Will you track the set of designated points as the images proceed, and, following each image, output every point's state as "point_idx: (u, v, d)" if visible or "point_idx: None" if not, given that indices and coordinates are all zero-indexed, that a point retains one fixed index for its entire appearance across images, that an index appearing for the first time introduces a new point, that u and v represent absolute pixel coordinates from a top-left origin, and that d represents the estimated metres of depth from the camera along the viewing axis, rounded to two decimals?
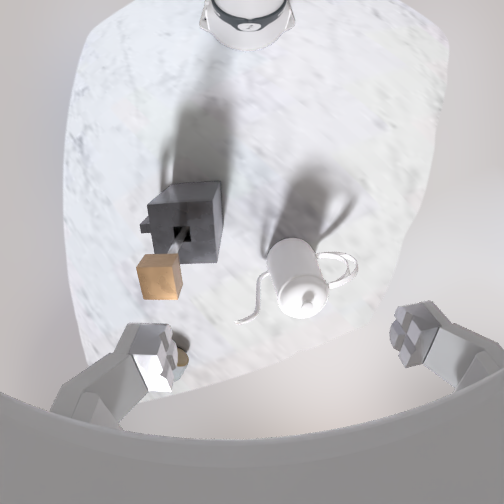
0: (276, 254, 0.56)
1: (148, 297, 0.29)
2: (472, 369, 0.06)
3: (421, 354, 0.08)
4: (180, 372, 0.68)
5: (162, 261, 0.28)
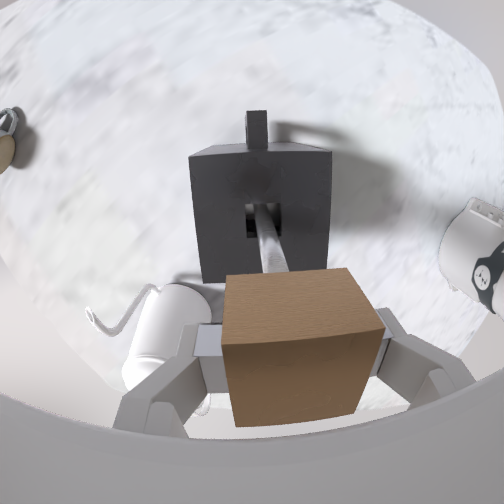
0: (192, 309, 0.37)
1: (233, 361, 0.06)
2: (424, 388, 0.06)
3: None
4: None
5: None
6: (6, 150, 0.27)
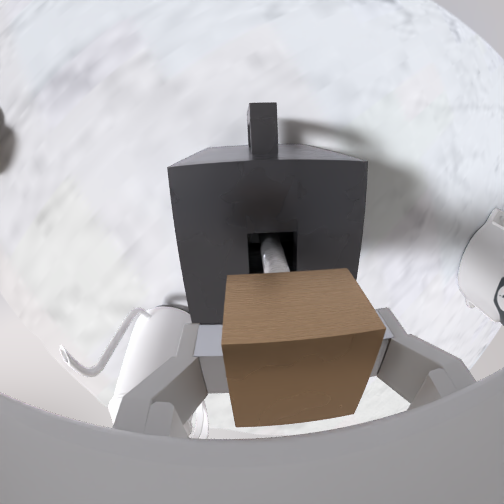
0: None
1: (233, 361, 0.06)
2: (425, 388, 0.06)
3: None
4: None
5: None
6: None
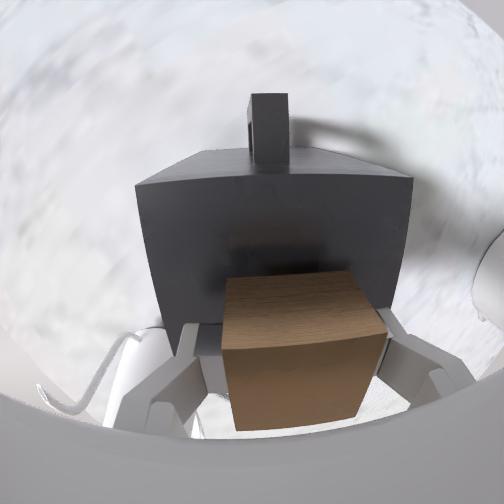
0: None
1: (234, 365, 0.06)
2: (425, 388, 0.06)
3: None
4: None
5: None
6: None
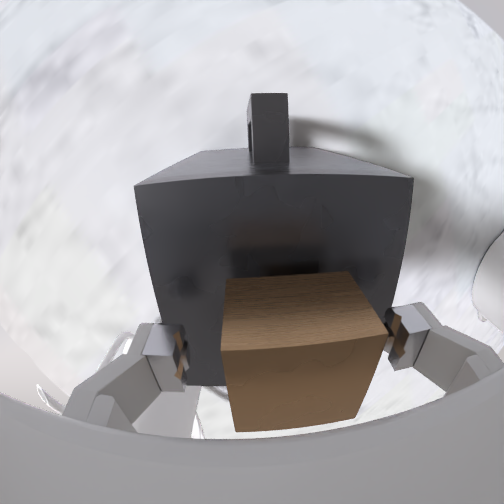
0: None
1: (233, 366, 0.06)
2: (462, 373, 0.06)
3: (411, 357, 0.08)
4: None
5: None
6: None
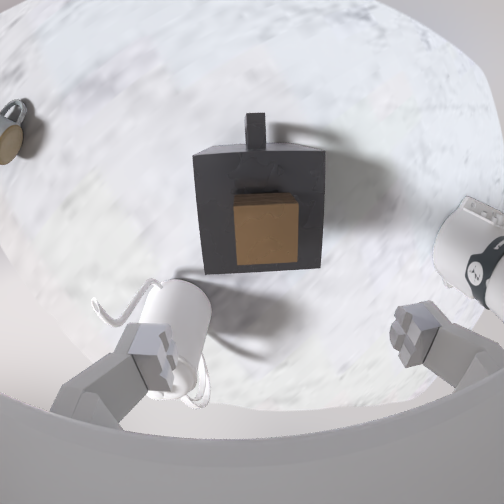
0: (193, 303, 0.38)
1: (237, 215, 0.17)
2: (472, 369, 0.06)
3: (421, 354, 0.08)
4: None
5: None
6: (14, 139, 0.28)
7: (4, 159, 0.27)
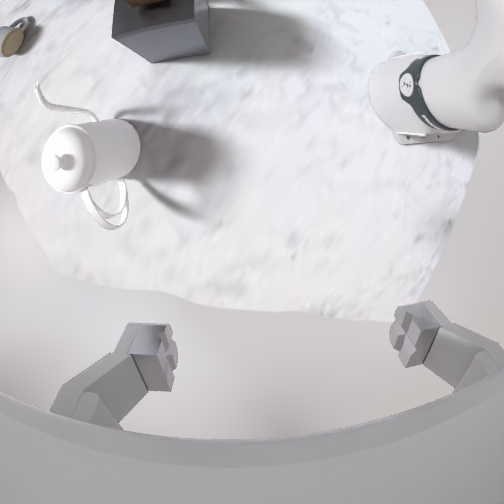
0: (119, 124, 0.36)
1: None
2: (472, 369, 0.06)
3: (421, 354, 0.08)
4: None
5: None
6: (17, 39, 0.25)
7: (6, 51, 0.25)
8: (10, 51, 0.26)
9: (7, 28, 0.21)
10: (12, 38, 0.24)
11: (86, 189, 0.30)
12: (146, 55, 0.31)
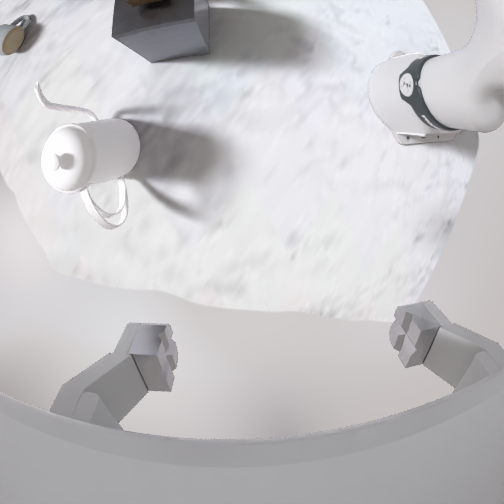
0: (118, 124, 0.36)
1: None
2: (472, 369, 0.06)
3: (421, 354, 0.08)
4: None
5: None
6: (18, 37, 0.25)
7: (7, 49, 0.25)
8: (11, 49, 0.26)
9: (8, 26, 0.21)
10: (13, 36, 0.23)
11: (86, 188, 0.30)
12: (146, 55, 0.31)
